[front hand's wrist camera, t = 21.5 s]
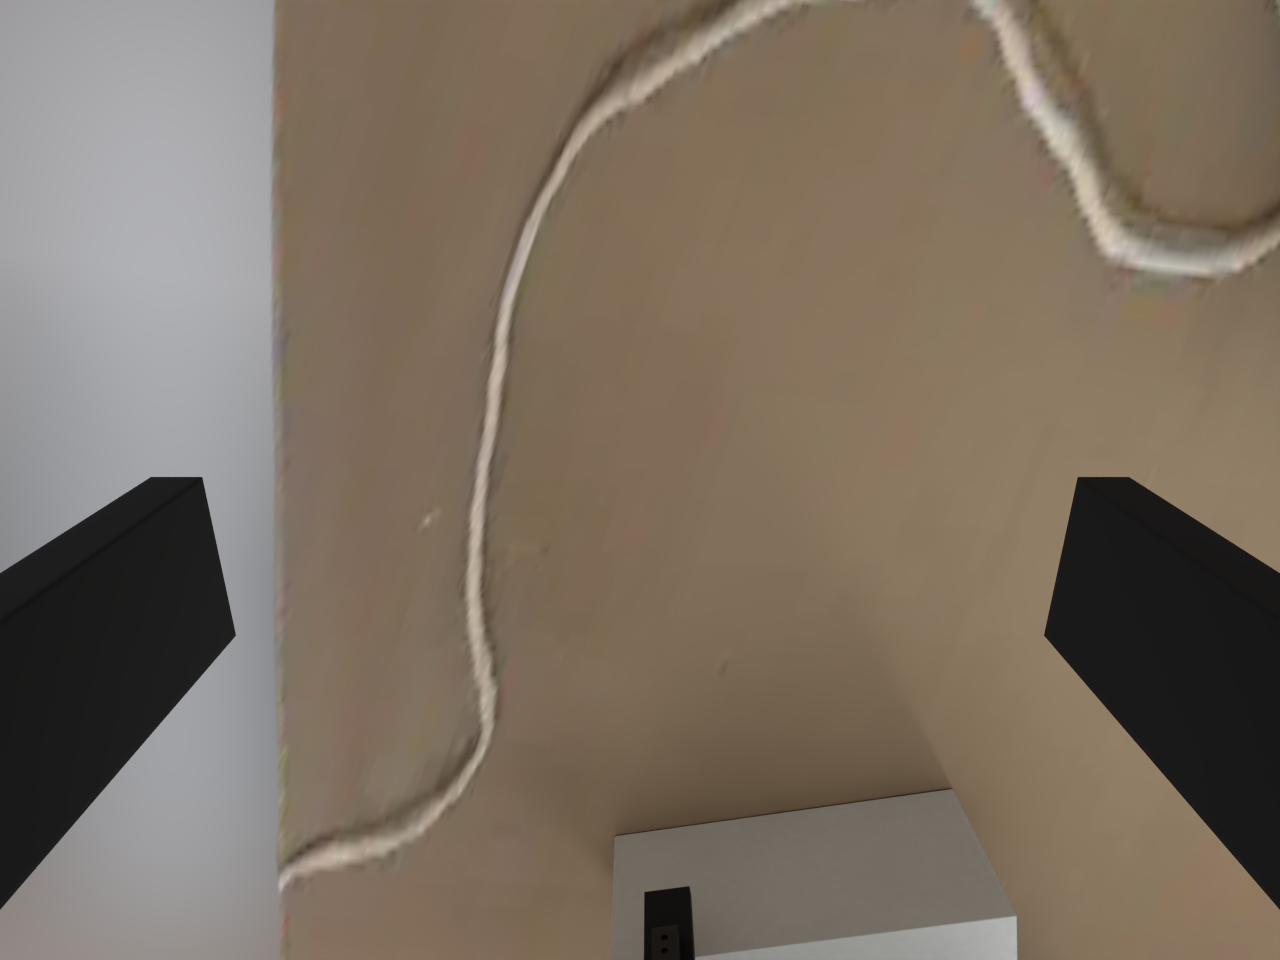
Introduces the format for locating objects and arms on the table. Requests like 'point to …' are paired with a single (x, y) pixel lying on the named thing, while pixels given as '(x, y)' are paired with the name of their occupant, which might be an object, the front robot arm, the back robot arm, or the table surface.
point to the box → (823, 885)
